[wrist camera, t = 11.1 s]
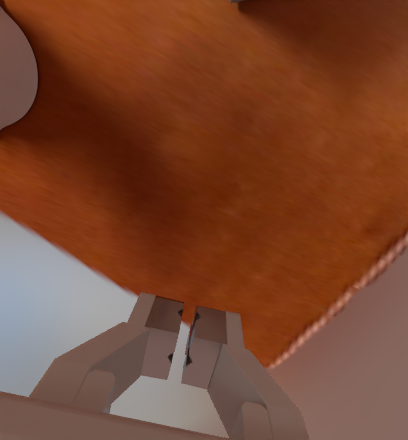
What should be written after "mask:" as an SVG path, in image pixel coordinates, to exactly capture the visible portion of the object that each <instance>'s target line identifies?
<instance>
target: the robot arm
mask: <svg viewBox="0 0 408 440" xmlns="http://www.w3.org/2000/svg"><path fill="white" fill-rule="evenodd" d="M37 86H38V71H37V65H36V60H35V57H34V54H33V51H32V48H31V46H30V44H29V42H28V40H27V38H26V36H25V35H24V33H23V32H22V30H21V29H20V28H19V26H18V25H17V24H16V23H15V22H14V21H13V20H12V19H11V18H10V17H9V16H8V15H7V14H6V13H5V11H4V10H3V9H2V8H1V6H0V130H1V129H2V128H4V127H6V126H8V125H10V124H13V123H15V122H16V121H18V120H19V119H21V118H22V117H23V116H24V115H25V114H26V113H27V112H28V110H29V109H30V107H31V106H32V104H33V102H34V99H35V96H36V92H37ZM183 308H184V302H182V301H178V300H174V299H170V298H165V297H161V296H157V295H153V294H149V293H144V292H142V293H141V294H140V295H139V297H138V300H137V303H136V304H135V307H134V309H133V311H132V313H131V315H130V318H129V320H128V322H127V323H126V322H122V323H120V324H118V325H117V326H115V327H113V328H111V329H109V330H107V331H105V332H104V333H102V334H100V335H98V336H96V337H95V338H93V339H91V340H89V341H87V342H85V343H83V344H81V345H80V346H78V347H76V348H74V349H72V350H70V351H69V352H67V353H65V354H63V355H61V356H59V357H58V358H56V359H55V360H54V361H53V363H52V364H51V365H50V367H49V368H48V370H47V371H46V373H45V374H44V376H43V377H42V379H41V380H40V381H39V383H38V385H37V386H36V387H35V389H34V390H33V392H32V393H31V394H30V396H29V397H25V396H21V395H16V394H11V393H6V392H1V391H0V440H309V436H308V433H307V429H306V426H305V423H304V419H303V415H302V412H301V411H300V410H299V408H298V407H297V406H296V405H295V404H294V403H293V401H292V400H291V399H290V398H289V397H288V395H287V394H286V393H285V392H284V391H283V390H282V388H281V387H280V386H279V385H278V384H277V383H276V381H275V380H274V379H273V378H272V376H271V375H270V374H269V373H268V372H267V371H266V369H265V368H264V367H263V366H262V365H261V363H260V362H259V361H258V360H257V359H256V357H255V356H254V355H253V354H252V353H251V352H250V350H248V349H245V348H244V340H243V332H242V325H241V317H240V314H239V313H234V312H228V311H221V310H217V309H212V308H207V307H203V306H198V305H197V306H196V309H195V312H194V316H193V324H192V325H191V327H190V331H189V335H188V340H187V345H186V351H185V355H186V358H185V362H184V366H183V374H182V382H181V383H183V384H188V385H192V386H195V387H200V388H204V389H208V393H209V395H210V397H211V400H212V402H213V403H214V406H215V408H216V410H217V412H218V414H219V417H220V419H221V421H222V423H223V425H224V427H225V429H226V431H227V433H228V436H229V439H228V438H223V437H219V436H214V435H209V434H204V433H199V432H194V431H190V430H185V429H180V428H174V427H170V426H165V425H161V424H156V423H151V422H146V421H141V420H136V419H132V418H127V417H121V416H117V415H112V414H109V413H110V407H111V404H112V403H113V402H114V400H116V399H117V398H118V397H119V396H120V395H121V394H122V393H123V392H124V391H125V390H126V389H127V388H128V387H129V386H130V385H132V384H133V383H134V382H135V381H136V380H137V379H138V378H139V377H140V375H142V376H149V377H153V378H160V379H165V380H167V378H168V374H169V371H170V367H171V363H172V357H173V353H174V351H175V347H176V342H177V339H178V334H179V330H180V324H181V319H182V318H181V316H182V312H183Z"/></svg>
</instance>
